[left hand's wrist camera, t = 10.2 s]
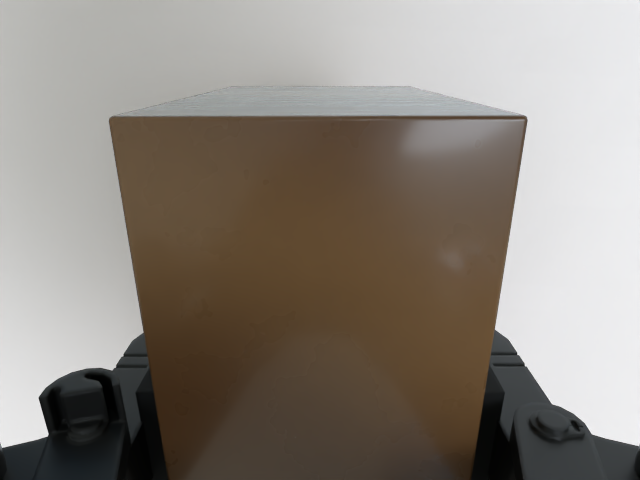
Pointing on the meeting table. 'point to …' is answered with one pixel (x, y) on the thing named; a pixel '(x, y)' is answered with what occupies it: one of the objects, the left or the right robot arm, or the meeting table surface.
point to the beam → (318, 276)
